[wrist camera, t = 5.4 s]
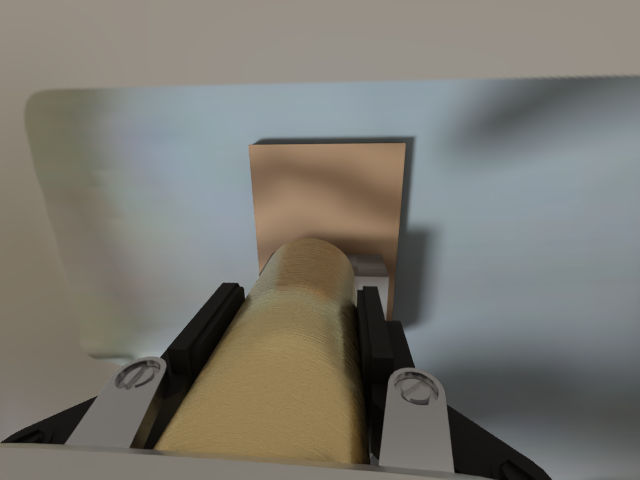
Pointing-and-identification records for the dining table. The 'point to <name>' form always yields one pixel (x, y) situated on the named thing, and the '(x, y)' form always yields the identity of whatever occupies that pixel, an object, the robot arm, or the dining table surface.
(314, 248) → the peg
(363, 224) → the socket board
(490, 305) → the dining table surface
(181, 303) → the dining table surface
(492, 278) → the dining table surface
